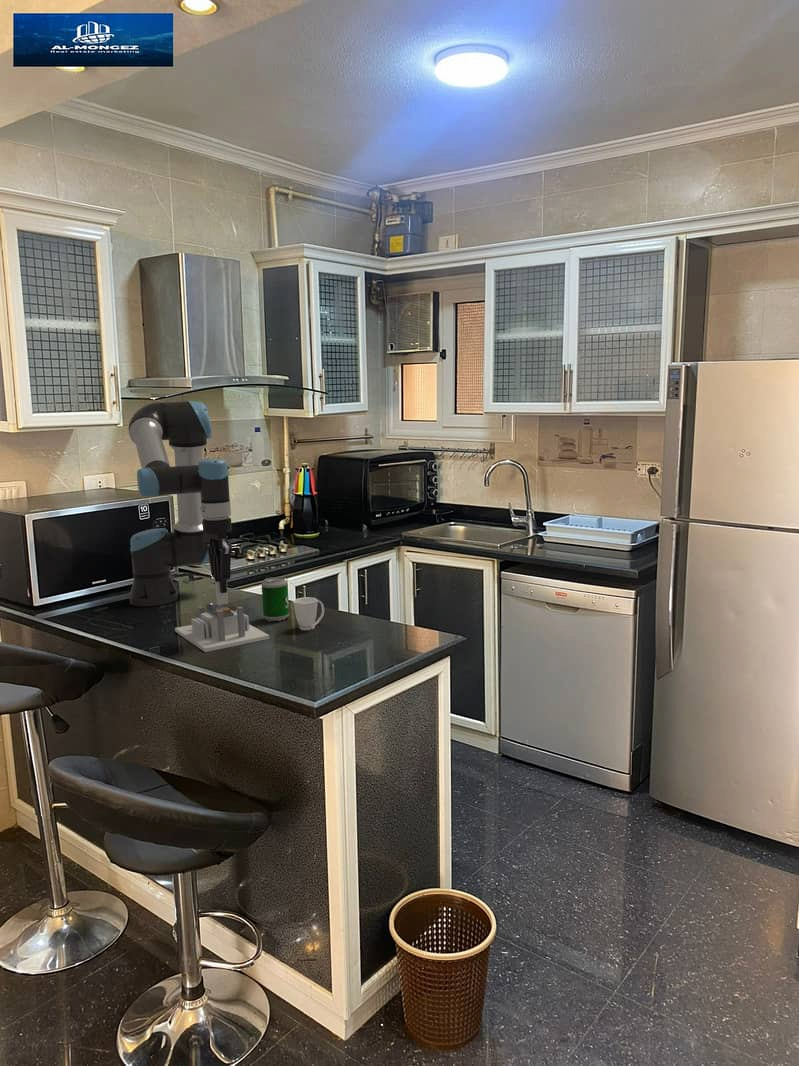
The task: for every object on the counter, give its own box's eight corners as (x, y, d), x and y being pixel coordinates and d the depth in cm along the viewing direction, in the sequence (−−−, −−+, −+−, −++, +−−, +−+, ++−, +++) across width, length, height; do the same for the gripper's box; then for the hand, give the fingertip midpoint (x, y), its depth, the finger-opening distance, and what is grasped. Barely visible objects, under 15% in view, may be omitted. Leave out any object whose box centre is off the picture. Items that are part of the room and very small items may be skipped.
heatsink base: (175, 631, 222) (172, 600, 220) (235, 620, 232) (233, 590, 230) (205, 652, 202) (202, 618, 201) (269, 638, 212) (267, 606, 210)
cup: (289, 628, 221) (287, 600, 219) (316, 620, 228) (314, 593, 227) (305, 633, 216) (303, 604, 215) (332, 625, 223) (331, 597, 222)
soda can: (284, 622, 227) (282, 582, 225) (259, 622, 228) (257, 582, 226) (293, 615, 234) (290, 576, 232) (269, 615, 236) (266, 576, 234)
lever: (204, 608, 221) (204, 602, 221) (214, 606, 223) (214, 600, 223) (223, 618, 210) (222, 612, 209) (233, 616, 211) (233, 610, 211)
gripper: (194, 516, 212) (200, 601, 216) (211, 522, 202) (218, 611, 206) (221, 513, 216) (226, 596, 220) (239, 519, 206) (245, 606, 210)
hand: (222, 603), depth 213 cm, fingers closed
